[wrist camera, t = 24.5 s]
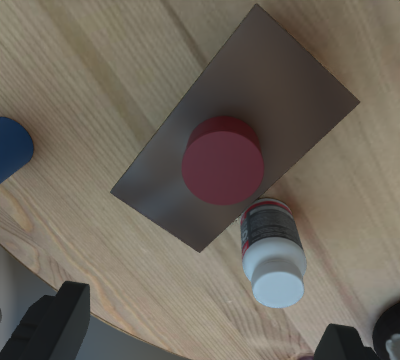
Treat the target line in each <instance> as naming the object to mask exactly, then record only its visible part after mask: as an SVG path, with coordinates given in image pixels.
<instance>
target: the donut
mask: <svg viewBox="0 0 400 360" xmlns="http://www.w3.org/2000/svg"><path fill="white" fill-rule="evenodd" d="M372 338H373V346H374V350H375V352H376V353H377V355H378V356H379V358H380V359H381V360H400V303H399V304H397V305H394V306H393V307H391V308H390V309H389V310H387V311H386V312H385V313H384V314H383V315H382V316H381V317H380V319H379V320H378V321H377V323H376V325H375V328H374V331H373V335H372Z"/></svg>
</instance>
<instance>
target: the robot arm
mask: <svg viewBox="0 0 400 360" xmlns="http://www.w3.org/2000/svg"><path fill="white" fill-rule="evenodd" d="M89 321H90V286H89V284H85V283H78V282H72V281H65V282H64V283H63V284H62V286H61V288H60V289H59V291H58V293H57V294H56V296H48V295H44V296H43V297H42V298H40V299H39V300H38V301H37V302H35V303H34V304H33V305H32V306H30V307H29V309H28V310H27V312H26V314H25V315H24V317H23V318H22V320H21V321H20V324H19V325H18V326H17V328H16V329H15V331H14V332H13V333H12V336H11V338H10V339H9V340H8V341H7V343H6V344H5V346H4V347H3V349H2V350H1V352H0V360H75V358H76V356H77V353H78V351H79V349H80V346H81V344H82V342H83V339H84V337H85V335H86V332H87V329H88V325H89ZM314 360H381V359H380V358H379V357H378V356H377V354H376V353H375V352H374V351H373V349H372V348H371V347H365V346H364V345H363V343H362V341H361V338H360V336H359V333H358V331H357V330H356V329H355V328H354V327H350V326H344V325H338V324H329V325H328V326H327V328H326V330H325V332H324V334H323V336H322V338H321V340H320V342H319V344H318V346H317V348H316V351H315V353H314Z"/></svg>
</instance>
